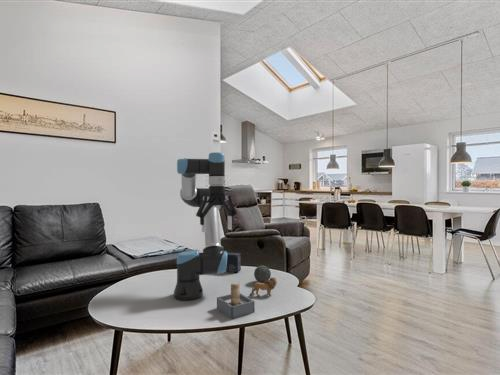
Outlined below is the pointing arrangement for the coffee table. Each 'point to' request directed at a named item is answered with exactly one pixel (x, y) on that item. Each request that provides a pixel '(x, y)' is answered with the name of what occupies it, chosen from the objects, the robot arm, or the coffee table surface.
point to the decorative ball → (262, 274)
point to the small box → (233, 262)
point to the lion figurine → (264, 286)
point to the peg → (235, 294)
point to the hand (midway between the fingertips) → (217, 230)
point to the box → (237, 310)
